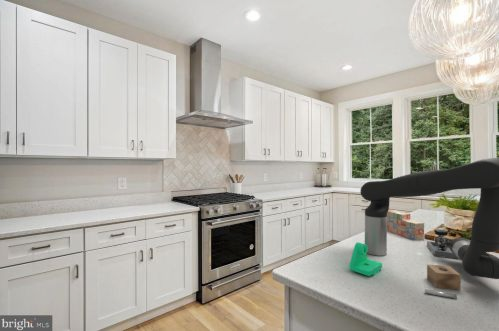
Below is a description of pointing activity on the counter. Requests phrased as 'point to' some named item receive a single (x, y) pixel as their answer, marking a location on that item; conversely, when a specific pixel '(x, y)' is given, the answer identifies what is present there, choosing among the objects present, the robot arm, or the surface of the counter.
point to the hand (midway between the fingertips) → (450, 238)
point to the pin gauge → (441, 294)
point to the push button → (443, 233)
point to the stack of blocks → (404, 225)
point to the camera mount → (363, 261)
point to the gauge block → (443, 277)
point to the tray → (434, 250)
